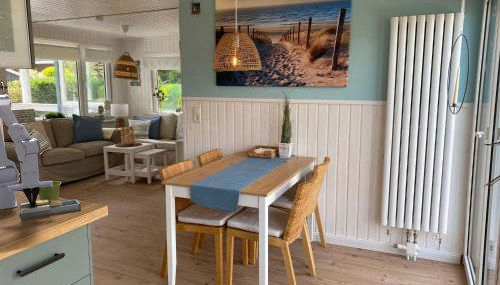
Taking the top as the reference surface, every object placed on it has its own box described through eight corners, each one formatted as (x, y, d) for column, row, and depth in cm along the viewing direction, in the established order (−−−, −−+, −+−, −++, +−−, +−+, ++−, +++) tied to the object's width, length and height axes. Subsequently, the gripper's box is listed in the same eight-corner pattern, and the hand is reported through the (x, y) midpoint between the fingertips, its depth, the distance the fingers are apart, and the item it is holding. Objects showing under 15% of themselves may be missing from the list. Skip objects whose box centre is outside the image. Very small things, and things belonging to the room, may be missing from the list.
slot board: (20, 212, 147) (19, 203, 146) (47, 208, 152) (46, 199, 151) (22, 219, 140) (21, 210, 139) (50, 214, 145) (49, 205, 144)
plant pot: (31, 206, 155) (29, 185, 154) (52, 200, 163) (51, 179, 162) (46, 209, 151) (44, 188, 149) (67, 203, 159) (66, 182, 158)
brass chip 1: (35, 206, 147) (35, 200, 147) (47, 205, 150) (47, 198, 149) (37, 209, 144) (36, 203, 144) (49, 207, 146) (48, 201, 146)
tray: (47, 209, 151) (47, 203, 151) (77, 204, 157) (76, 199, 157) (50, 214, 145) (49, 208, 145) (80, 209, 151) (80, 203, 151)
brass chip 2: (47, 204, 150) (49, 198, 150) (58, 207, 152) (60, 200, 152) (49, 207, 146) (51, 201, 147) (60, 209, 149) (62, 203, 149)
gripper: (7, 176, 136) (10, 214, 138) (53, 171, 144) (55, 207, 146) (6, 172, 142) (9, 208, 144) (50, 168, 149) (53, 202, 151)
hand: (32, 207), depth 145 cm, fingers closed
